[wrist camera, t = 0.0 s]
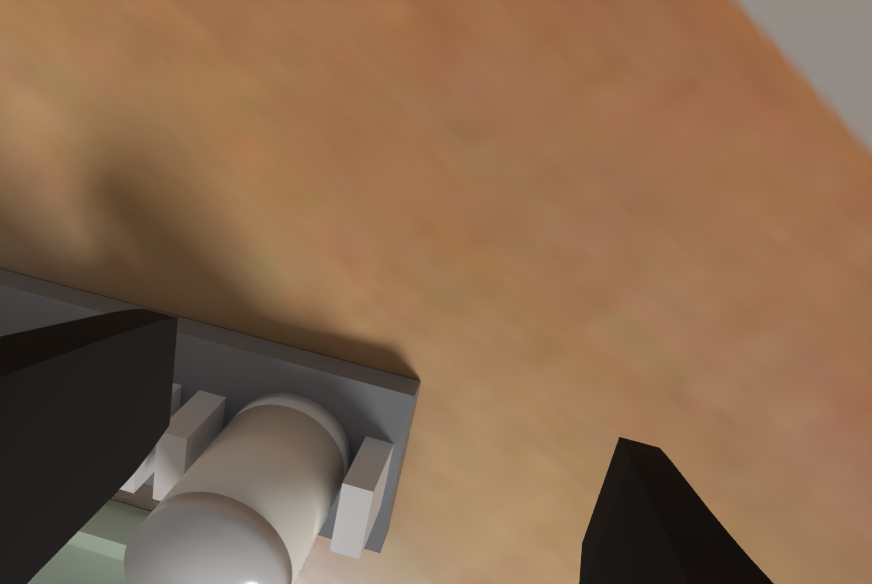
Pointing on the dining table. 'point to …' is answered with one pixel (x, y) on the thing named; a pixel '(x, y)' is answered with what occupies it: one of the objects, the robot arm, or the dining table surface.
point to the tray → (95, 549)
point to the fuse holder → (239, 384)
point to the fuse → (247, 500)
